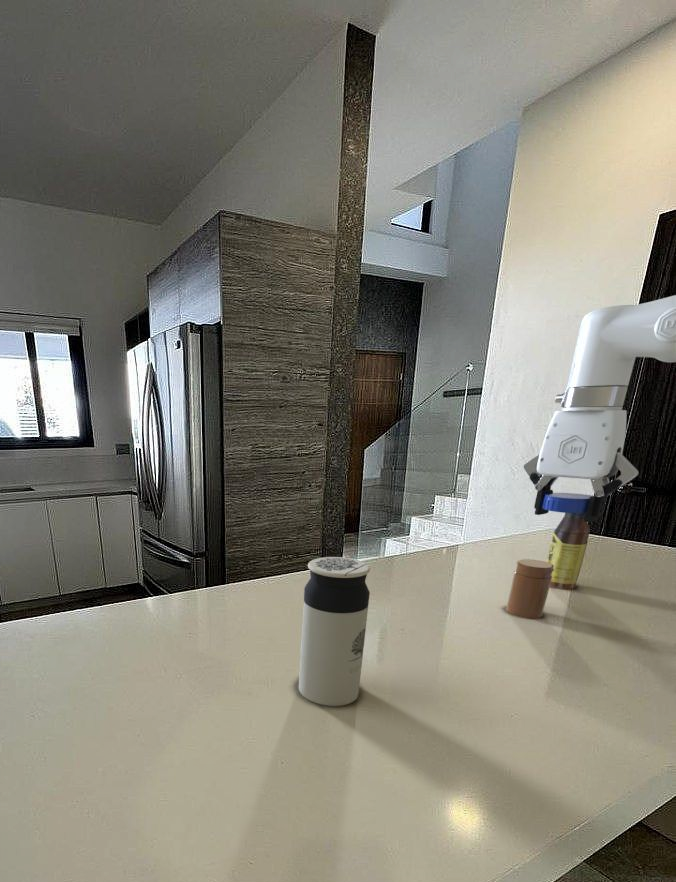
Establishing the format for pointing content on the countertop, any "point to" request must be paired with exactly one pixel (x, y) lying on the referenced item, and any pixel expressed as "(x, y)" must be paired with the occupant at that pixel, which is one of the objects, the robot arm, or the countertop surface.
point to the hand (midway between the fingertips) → (565, 516)
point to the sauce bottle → (568, 550)
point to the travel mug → (333, 630)
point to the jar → (529, 588)
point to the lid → (566, 502)
